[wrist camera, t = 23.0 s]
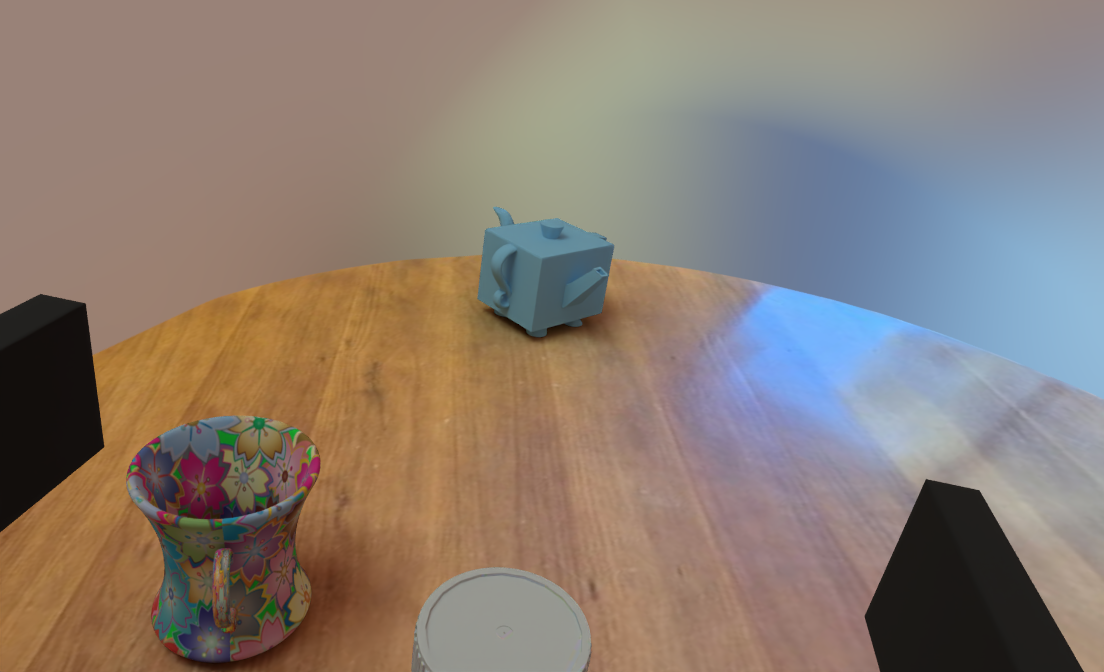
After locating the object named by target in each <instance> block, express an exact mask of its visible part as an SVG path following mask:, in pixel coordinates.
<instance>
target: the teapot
mask: <svg viewBox="0 0 1104 672" xmlns="http://www.w3.org/2000/svg"><path fill="white" fill-rule="evenodd" d="M493 209H494V210H495V212H496V213H497V215H498V217H499V220H500V224H501V226H500V227H494V228H488V229H486V230H485V236H484V245H483V254H482V263H481V272H480V281H479V290H478V299H479V300H480V301H482V302H483V303H485V304H487V305H488V306H490V307H491V308H493V309H495V310H494V313H495V314H497V315H499V316H503V317H508V318H509V319H511V320H512V321H514V322H516V323H517V324H519V325H520V326H522V327H524V328H525V329H526V332H527V334H529V335H531V336H534V337H544V336H546V335H547V328H549V327H552V326H556V325H560V324H563V323H564V324H566V325H568V326H572V327H579V326H581V325H582V322H581V320H580V319H582V318H585V317H589V316H593V315H596V314H600V313H602V308H603V303H604V297H605V292H606V287H607V281H608V276H609V271H610V266H611V260H612V255H613V250H614V245H613V244H611V243H609V242H607V241H606V239H607V238H606V237H604V236H601V235H599V234H597V233H591V232H586V231H584V230H582V229H580V228H577V227H575V226H573V225H571V224H569V223H566V222H564V221H562V220H560V219H558V218H555V219H547V220H541V221H534V222H527V223H520V224H514V222H513V220H512V218H511V215H510V214H509V213H508V212H507V211H506V210H504V209H502V208H499V207H493Z"/></svg>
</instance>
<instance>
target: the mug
mask: <svg viewBox="0 0 1104 672" xmlns="http://www.w3.org/2000/svg"><path fill="white" fill-rule="evenodd" d="M319 472H320V455H319V452H318V450H317V448H316V446H315V444H314V443H313V442H312V441H311V439H310V438H309V437H308V436H306V435H305V434H304V433H302V432H301V431H299V430H298V429H296V428H294V427H292V426H290V425H287V424H285V423H282V422H279V421H276V420H272V419H267V418H262V417H253V416H223V417H214V418H208V419H203V420H199V421H195V422H191V423H188V424H185V425H182V426H179V427H177V428H174V429H172V430H170V431H167V432H165V433H164V434H162V435H160V436H158V437H157V438H155V439H154V440H152V441H151V442H149V443H148V444H147V445H146V446H144V447H143V448H142V449H141V450H140V451H139V452H138V453H137V455H136V456H135V457H134V459H133V460H132V462H131V464H130V466H129V469H128V472H127V477H126V484H127V489H128V492H129V495H130V497H131V498H132V500H133V502H134V503H135V504H136V505H137V506H138V508H139V509H140V510H141V511H142V512H143V513H144V514H145V516H146V517H147V519H148V520H149V521H150V523H151V524H152V526H153V528H154V530H155V532H156V534H157V536H158V538H159V541H160V544H161V547H162V551H163V556H164V564H165V570H164V579H163V583H162V586H161V588H160V589H159V591H158V593H157V595H156V597H155V600H154V603H153V607H152V613H151V619H152V625H153V628H154V631H155V633H156V635H157V637H158V638H159V640H160V641H161V642H162V643H163V644H164V645H165V646H166V647H167V648H168V649H170V650H171V651H173V652H174V653H176V654H178V655H180V656H183V657H185V658H188V659H191V660H196V661H201V662H210V663H223V662H232V661H238V660H242V659H246V658H249V657H252V656H255V655H258V654H260V653H263V652H265V651H267V650H269V649H271V648H272V647H274V646H276V645H277V644H279V643H280V642H282V641H283V640H284V639H285V638H287V637H288V636H289V635H290V634H291V633H292V632H293V631H294V630H295V629H296V628H297V627H298V626H299V624H300V623H301V622H302V620H303V619H304V617H305V615H306V613H307V611H308V608H309V605H310V601H311V585H310V581H309V579H308V576H307V574H306V573H305V571H304V569H303V568H302V567H301V566H300V564H299V562H298V559H297V555H296V549H295V536H296V528H297V523H298V519H299V515H300V512H301V509H302V507H303V504H304V502H305V500H306V498H307V496H308V494H309V492H310V490H311V489H312V487H313V486H314V484H315V482H316V480H317V478H318V475H319Z"/></svg>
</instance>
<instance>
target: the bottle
mask: <svg viewBox="0 0 1104 672" xmlns="http://www.w3.org/2000/svg"><path fill="white" fill-rule="evenodd" d="M590 657H591V636H590V630H589V626H588V623H587V620H586V618H585V616H584V614H583V612H582V610H581V609H580V607H579V606H578V604H577V603H576V602H575V601H574V600H573V598H572V597H571V596H570V595H569V594H568V593H566V592H565V591H564V590H563V589H562V588H560V587H559V586H557V585H556V584H554V583H553V582H551V581H549V580H547V579H545V578H543V577H541V576H539V575H536V574H533V573H530V572H527V571H523V570H518V569H513V568H501V567H494V568H482V569H477V570H472V571H468V572H465V573H462V574H460V575H457V576H455V577H453V578H451V579H450V580H448V581H446V582H445V583H443V584H442V585H441V586H439V587H438V588H437V589H436V590H435V591H434V592H433V593H432V594H431V595H430V596H429V598H428V599H427V601H426V602H425V604H424V606H423V608H422V609H421V612H420V614H419V616H418V621H417V622H416V627H415V634H414V645H413V656H412V668H411V669H412V672H587V671H588V667H589V662H590Z"/></svg>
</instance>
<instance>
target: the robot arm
mask: <svg viewBox="0 0 1104 672" xmlns="http://www.w3.org/2000/svg"><path fill="white" fill-rule="evenodd" d="M102 448H104V441H103V433H102V425H101V418H100V410H99V402H98V395H97V387H96V379H95V372H94V364H93V356H92V349H91V342H90V333H89V325H88V318H87V311H86V304H85V303H81V302H76V301H71V300H66V299H62V298H57V297H52V296H47V295H43V294H40V295H38V296H36V297H34V298H32V299H30V300H28V301H26V302H24V303H22V304H20V305H18V306H16V307H14V308H12V309H10V310H8V311H6V312H4V313H2V314H0V532H1V531H3V530H4V529H5V528H6V527H7V526H9V525H10V524H11V523H12V522H13V521H15V520H16V519H17V518H18V517H20V516H21V515H22V514H23V513H24V512H26V511H27V510H28V509H29V508H31V507H32V506H33V505H34V504H35V503H37V502H38V501H39V500H40V499H42V498H43V497H44V496H45V495H46V494H48V493H49V492H50V491H51V490H53V489H54V488H55V487H56V486H57V485H59V484H60V483H61V482H62V481H63V480H65V479H66V478H67V477H68V476H70V475H71V474H72V473H73V472H74V471H76V470H77V469H78V468H79V467H81V466H82V465H83V464H84V463H85V462H87V461H88V460H89V459H90V458H92V457H93V456H94V455H95V454H96V453H98V452H99V451H100V450H101V449H102ZM865 620H866V623H867V627H868V630H869V634H870V637H871V641H872V644H873V648H874V651H875V655H876V658H877V662H878V665H879V669H880V672H1084V671H1083V670H1082V668H1081V666H1080V664H1079V663H1078V661H1077V659H1076V657H1075V656H1074V654H1073V652H1072V650H1071V649H1070V647H1069V645H1068V643H1067V642H1066V640H1065V638H1064V637H1063V635H1062V633H1061V631H1060V630H1059V628H1058V626H1057V624H1056V623H1055V621H1054V619H1053V617H1052V616H1051V614H1050V612H1049V610H1048V609H1047V607H1046V605H1045V604H1044V602H1043V600H1042V598H1041V597H1040V595H1039V593H1038V591H1037V590H1036V588H1035V586H1034V584H1033V583H1032V581H1031V579H1030V577H1029V576H1028V574H1027V572H1026V570H1025V569H1024V567H1023V565H1022V564H1021V562H1020V560H1019V558H1018V557H1017V555H1016V553H1015V551H1014V550H1013V548H1012V546H1011V544H1010V543H1009V541H1008V539H1007V537H1006V536H1005V534H1004V532H1003V531H1002V529H1001V527H1000V525H999V524H998V522H997V520H996V518H995V517H994V515H993V513H992V511H991V510H990V508H989V506H988V504H987V503H986V501H985V499H984V497H983V496H982V494H981V492H980V491H979V490H975V489H971V488H966V487H961V486H956V485H951V484H947V483H942V482H937V481H932V480H928V479H926V480H925V483H924V485H923V487H922V489H921V492H920V494H919V496H918V498H917V500H916V503H915V505H914V507H913V509H912V512H911V514H910V516H909V518H908V521H907V523H906V525H905V527H904V529H903V532H902V534H901V536H900V538H899V541H898V543H897V545H896V547H895V550H894V552H893V554H892V556H891V558H890V561H889V563H888V565H887V567H886V570H885V572H884V574H883V576H882V579H881V581H880V583H879V585H878V588H877V590H876V592H875V594H874V596H873V599H872V601H871V603H870V605H869V608H868V610H867V612H866V614H865Z"/></svg>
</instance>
